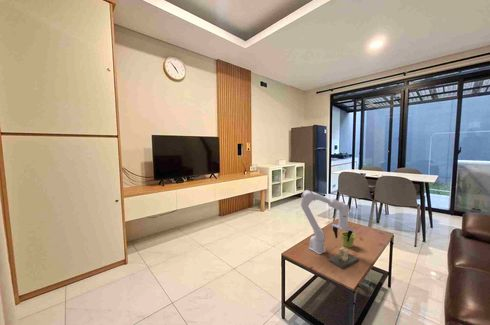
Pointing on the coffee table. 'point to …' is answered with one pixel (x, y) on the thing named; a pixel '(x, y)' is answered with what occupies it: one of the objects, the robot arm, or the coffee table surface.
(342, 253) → the birch peg
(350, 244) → the plant pot
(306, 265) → the coffee table surface
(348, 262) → the slotted plate
